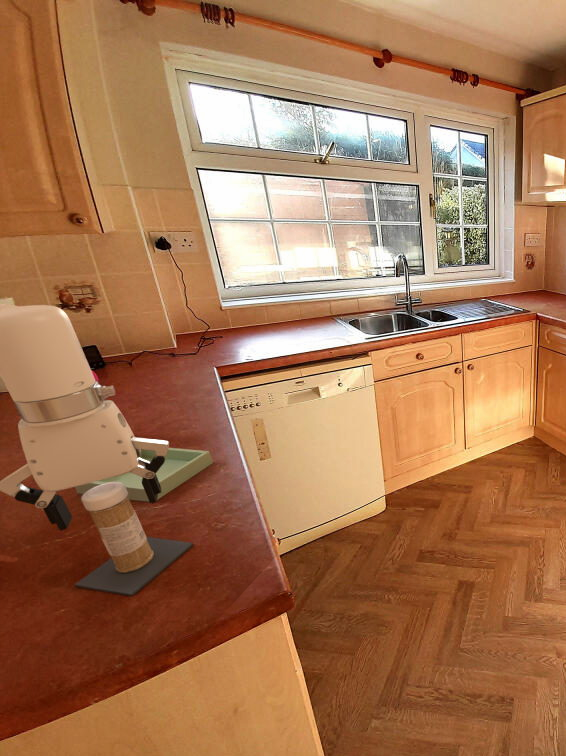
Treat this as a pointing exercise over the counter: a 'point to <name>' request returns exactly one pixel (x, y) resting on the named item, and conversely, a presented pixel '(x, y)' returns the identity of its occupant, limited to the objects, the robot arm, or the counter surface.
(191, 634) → the counter surface
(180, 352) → the counter surface
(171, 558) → the mat
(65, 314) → the robot arm
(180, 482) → the tray
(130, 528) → the sprinkles bottle
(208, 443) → the counter surface
